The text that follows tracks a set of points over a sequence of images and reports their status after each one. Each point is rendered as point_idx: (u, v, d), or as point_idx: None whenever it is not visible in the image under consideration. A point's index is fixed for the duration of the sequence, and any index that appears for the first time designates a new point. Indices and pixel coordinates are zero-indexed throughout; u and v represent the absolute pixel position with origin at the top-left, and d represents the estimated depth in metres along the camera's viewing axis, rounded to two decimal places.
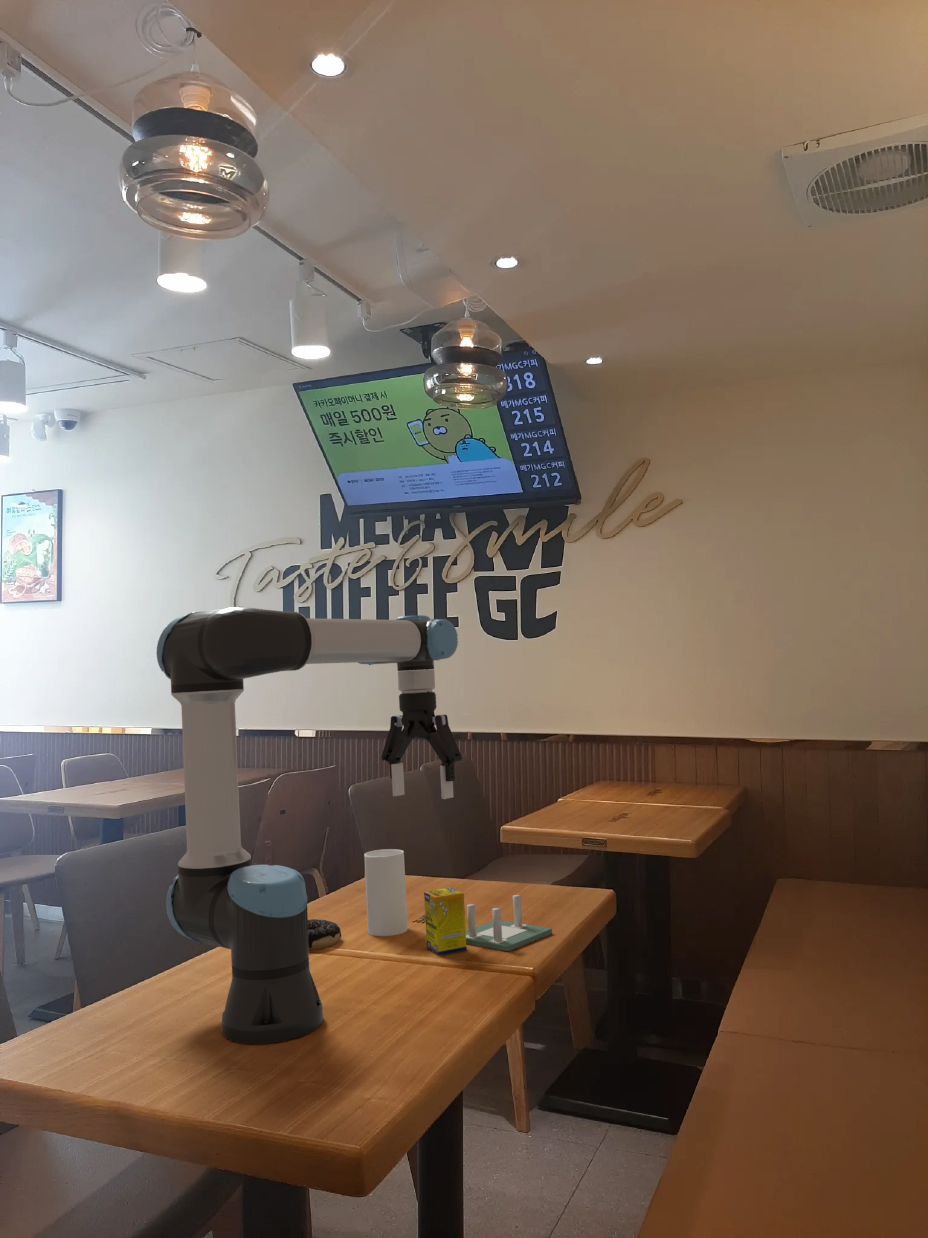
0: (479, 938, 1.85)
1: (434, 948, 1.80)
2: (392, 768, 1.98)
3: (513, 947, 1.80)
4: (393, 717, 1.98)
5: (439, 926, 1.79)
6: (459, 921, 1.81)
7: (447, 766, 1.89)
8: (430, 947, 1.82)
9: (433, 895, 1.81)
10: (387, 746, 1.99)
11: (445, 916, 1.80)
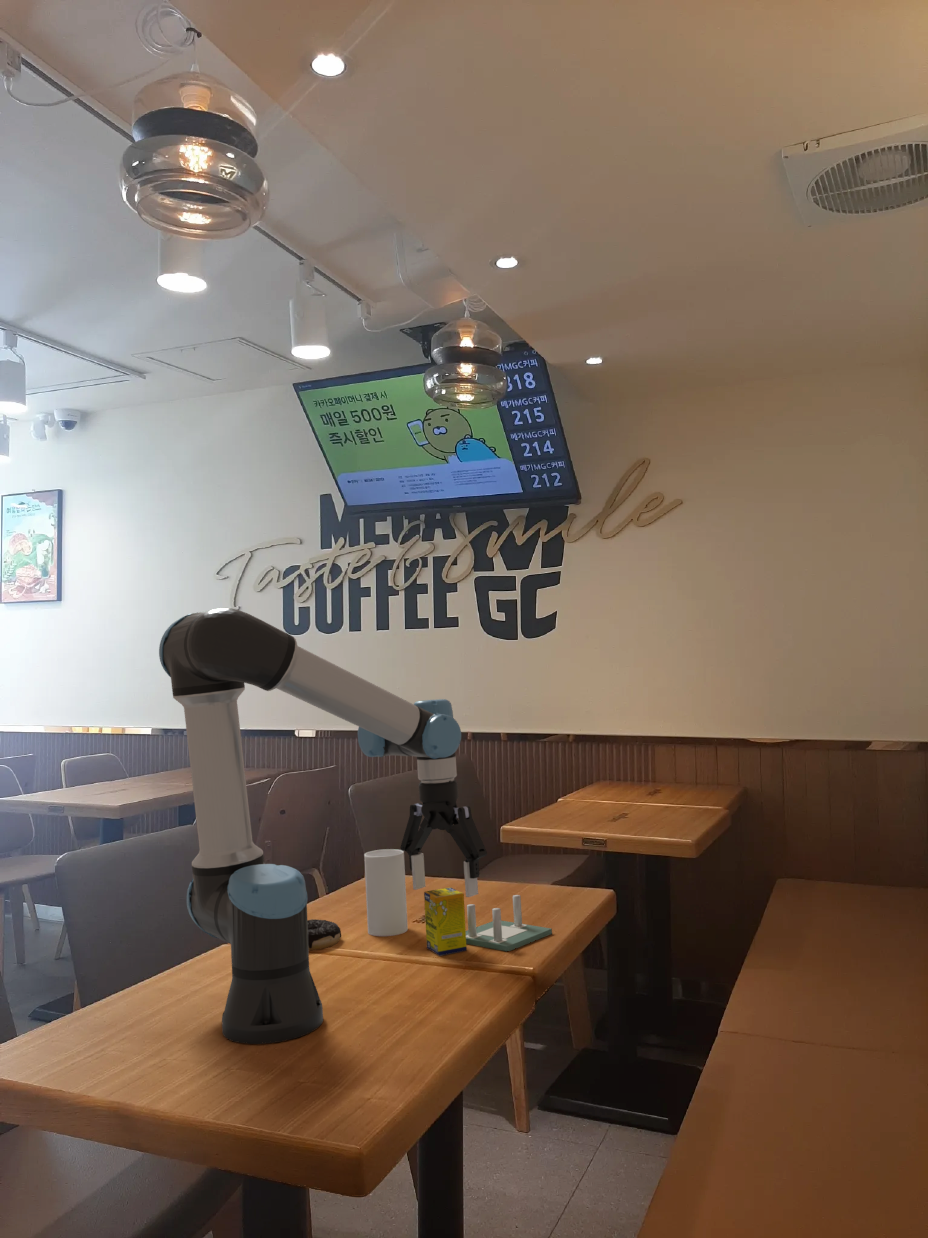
0: (479, 938, 1.85)
1: (434, 948, 1.80)
2: (412, 860, 1.87)
3: (513, 947, 1.80)
4: (412, 806, 1.87)
5: (439, 926, 1.79)
6: (459, 921, 1.81)
7: (471, 862, 1.78)
8: (430, 947, 1.82)
9: (433, 895, 1.81)
10: (406, 836, 1.88)
11: (445, 916, 1.80)
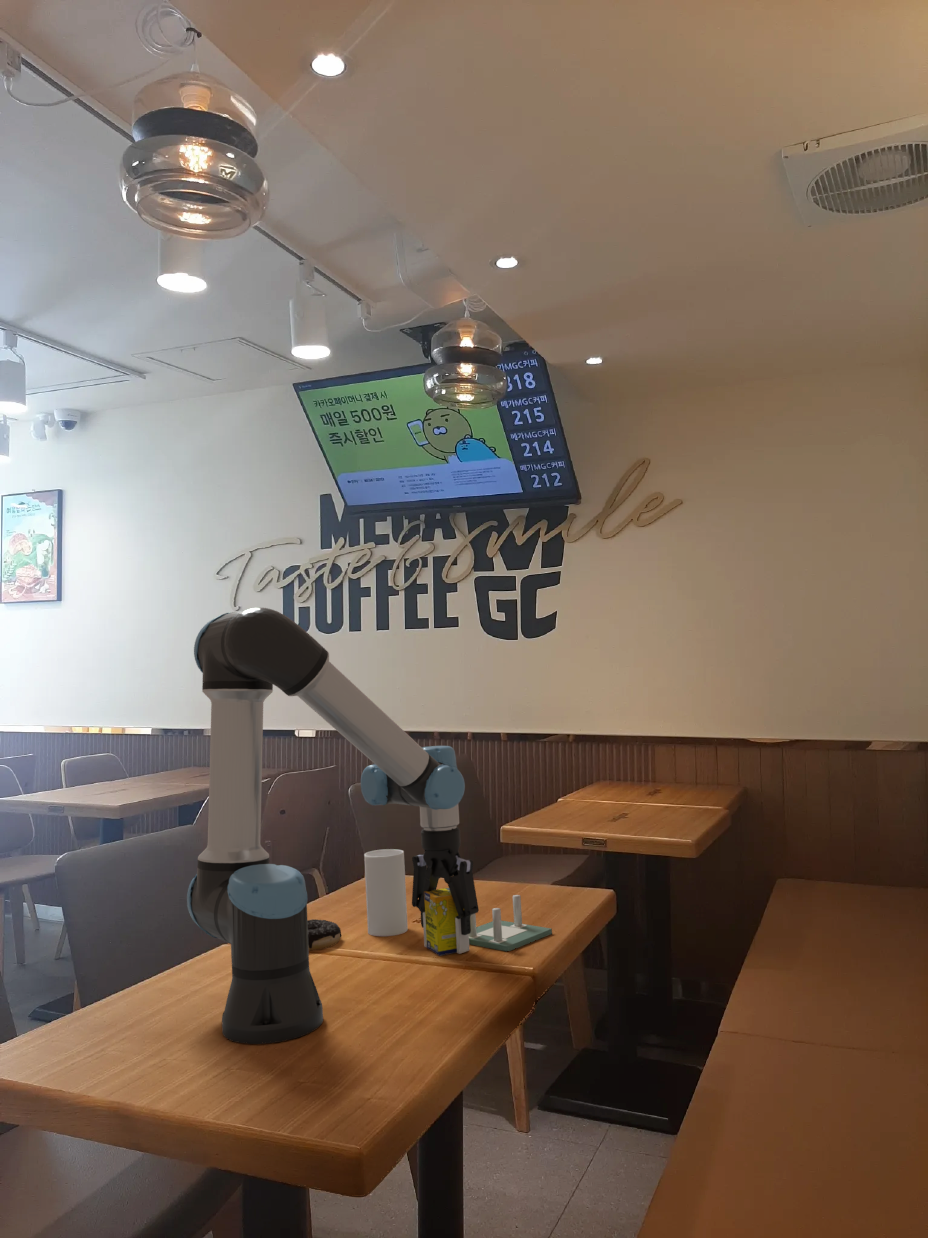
0: (479, 938, 1.85)
1: (434, 948, 1.80)
2: (424, 917, 1.85)
3: (513, 947, 1.80)
4: (414, 857, 1.86)
5: (439, 926, 1.79)
6: None
7: (462, 918, 1.79)
8: (430, 947, 1.82)
9: (433, 895, 1.81)
10: (415, 890, 1.86)
11: (445, 916, 1.80)
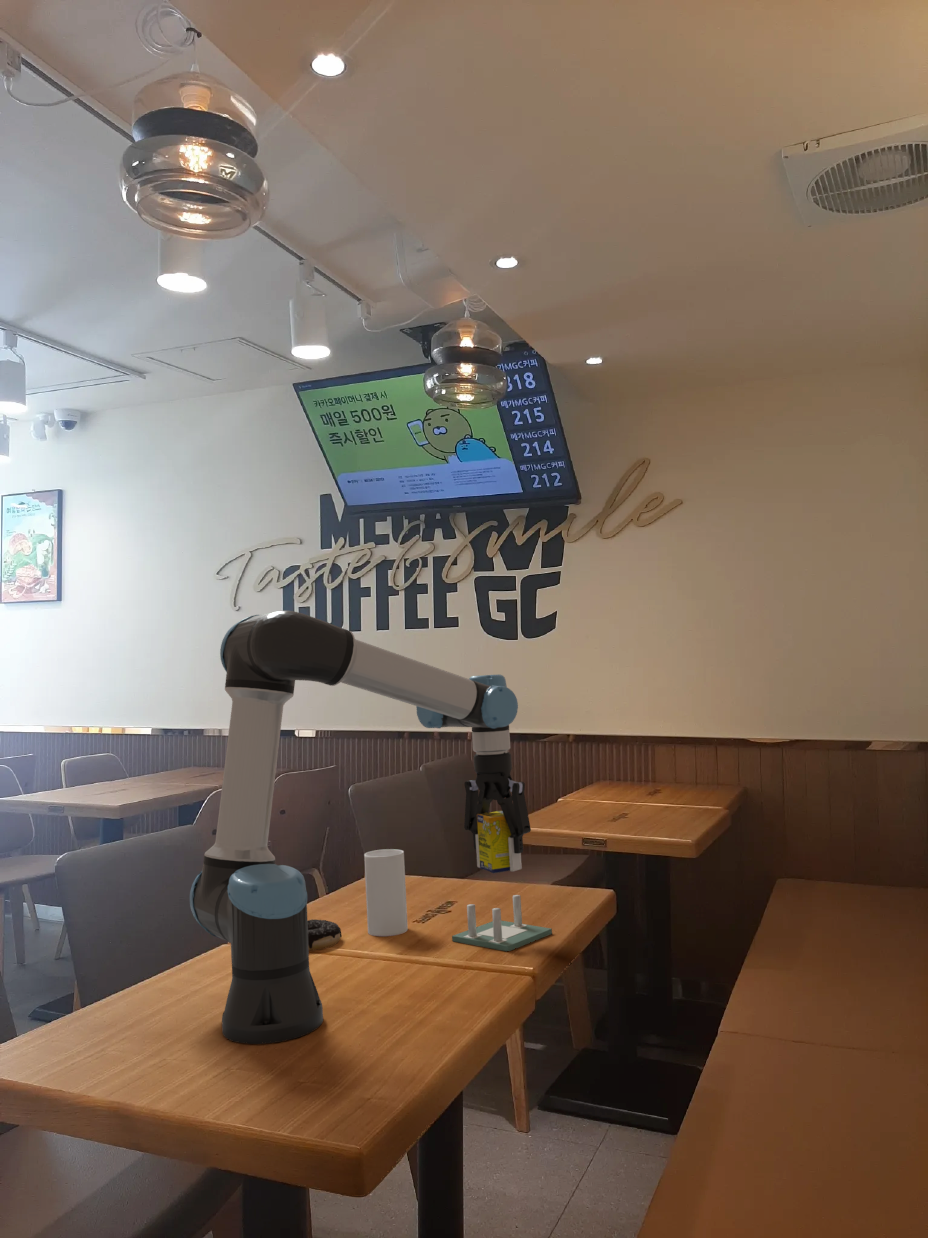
0: (479, 938, 1.85)
1: (488, 867, 1.88)
2: (476, 838, 1.92)
3: (513, 947, 1.80)
4: (467, 782, 1.94)
5: (493, 845, 1.86)
6: None
7: (514, 838, 1.86)
8: (483, 866, 1.90)
9: (486, 816, 1.88)
10: (467, 814, 1.94)
11: (498, 835, 1.87)
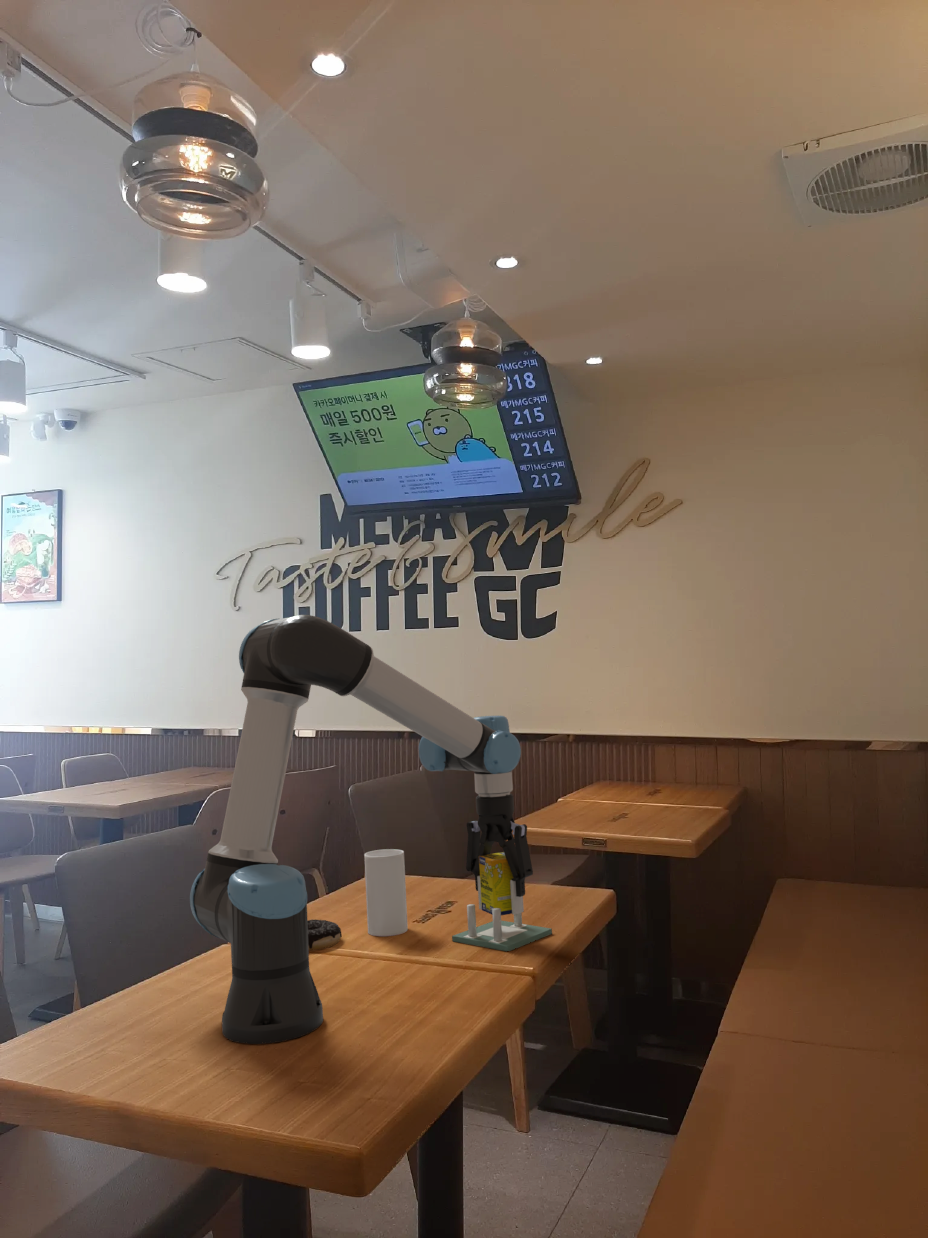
0: (479, 938, 1.85)
1: (490, 909, 1.87)
2: (478, 880, 1.91)
3: (513, 947, 1.80)
4: (469, 823, 1.93)
5: (495, 888, 1.86)
6: None
7: (516, 881, 1.86)
8: (485, 909, 1.89)
9: (489, 858, 1.88)
10: (469, 855, 1.93)
11: (500, 878, 1.87)
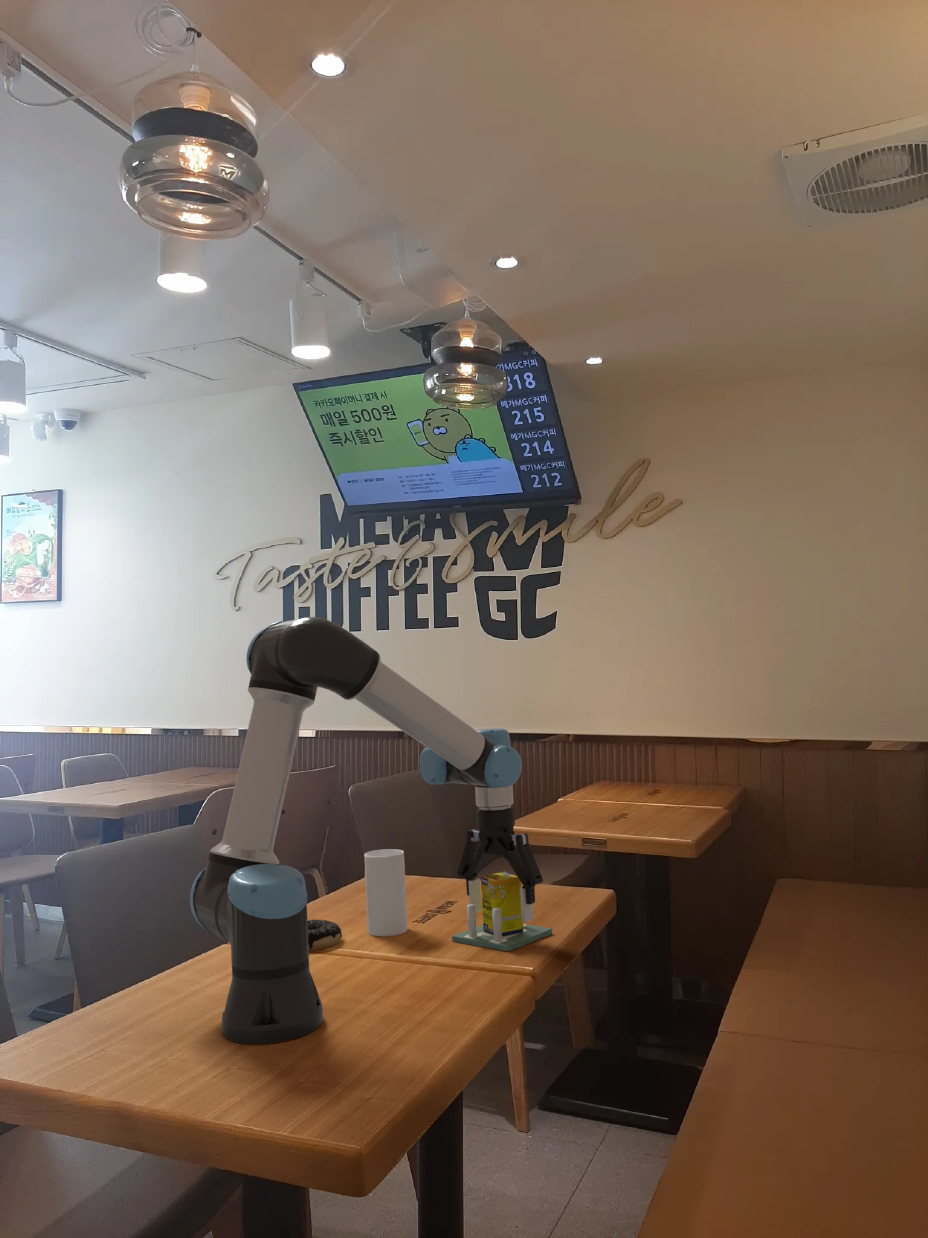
0: (479, 938, 1.85)
1: None
2: (469, 885, 1.93)
3: (513, 947, 1.80)
4: (469, 832, 1.93)
5: None
6: (516, 904, 1.87)
7: (527, 888, 1.84)
8: (487, 929, 1.88)
9: (491, 879, 1.87)
10: (463, 861, 1.94)
11: (503, 899, 1.86)
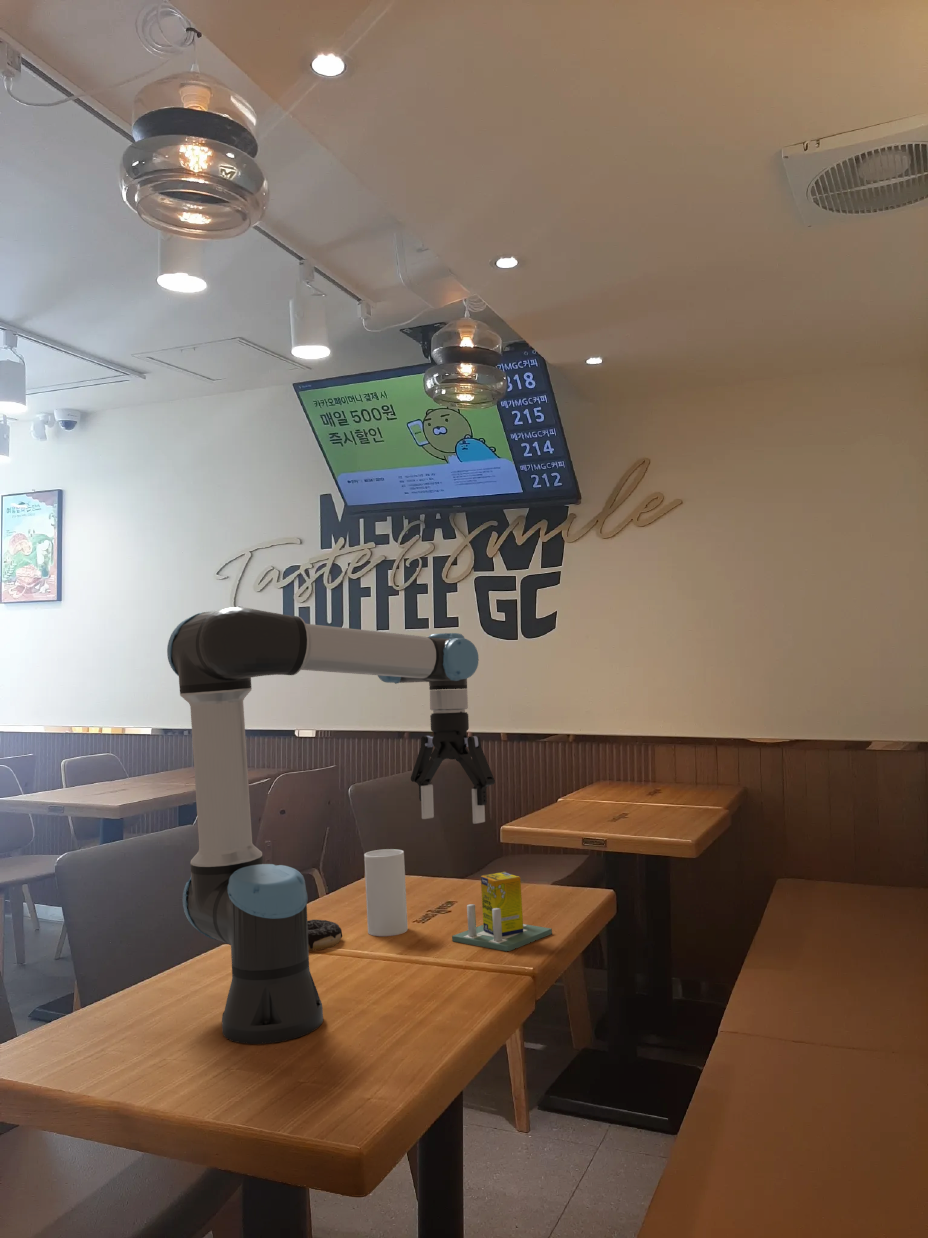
0: (479, 938, 1.85)
1: None
2: (422, 790, 1.92)
3: (513, 947, 1.80)
4: (424, 737, 1.92)
5: None
6: (516, 904, 1.87)
7: (479, 789, 1.83)
8: (487, 929, 1.88)
9: (491, 879, 1.87)
10: (417, 767, 1.93)
11: (503, 899, 1.86)
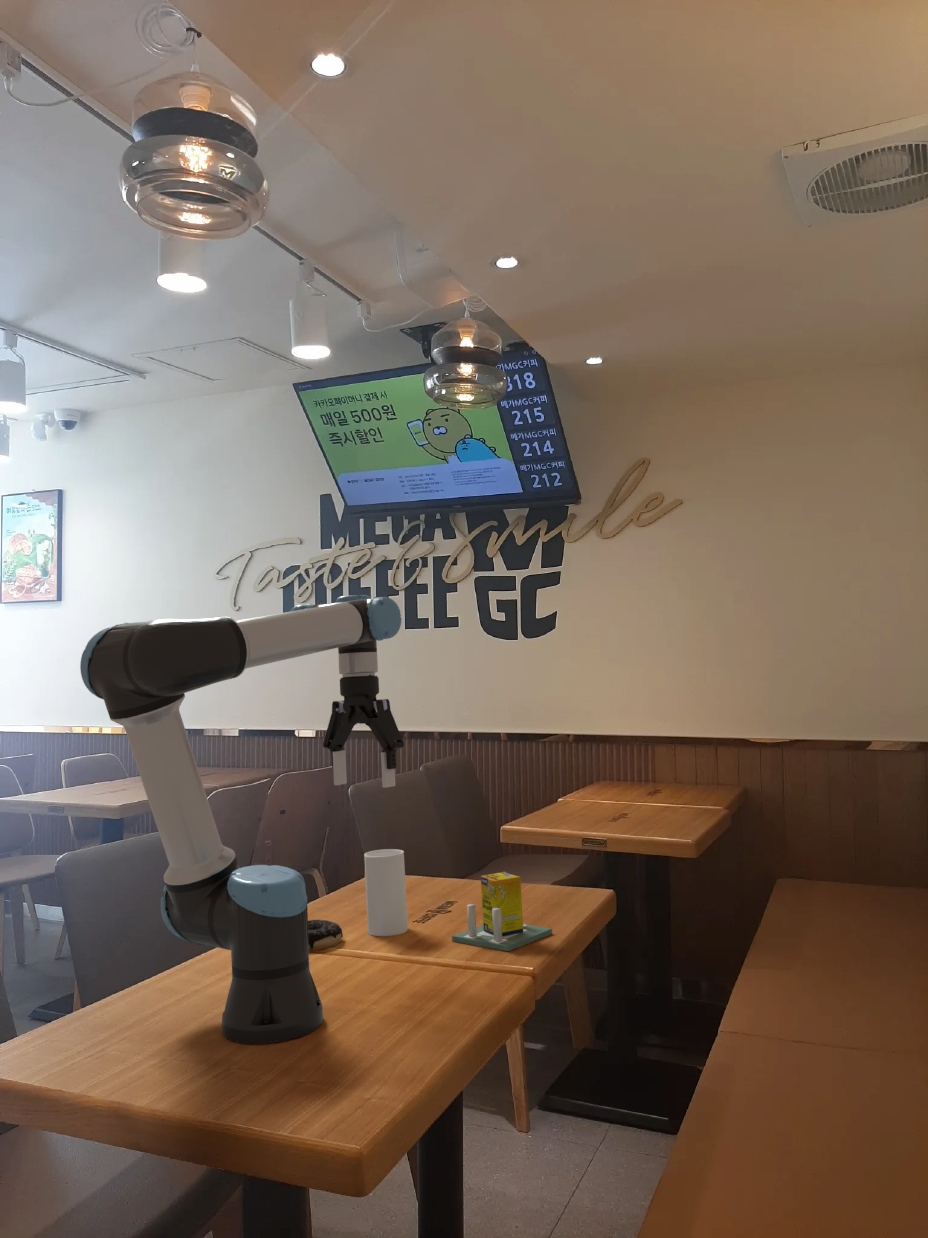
0: (479, 938, 1.85)
1: None
2: (333, 756, 1.89)
3: (513, 947, 1.80)
4: (334, 702, 1.89)
5: None
6: (516, 904, 1.87)
7: (388, 753, 1.79)
8: (487, 929, 1.88)
9: (491, 879, 1.87)
10: (329, 733, 1.90)
11: (503, 899, 1.86)
